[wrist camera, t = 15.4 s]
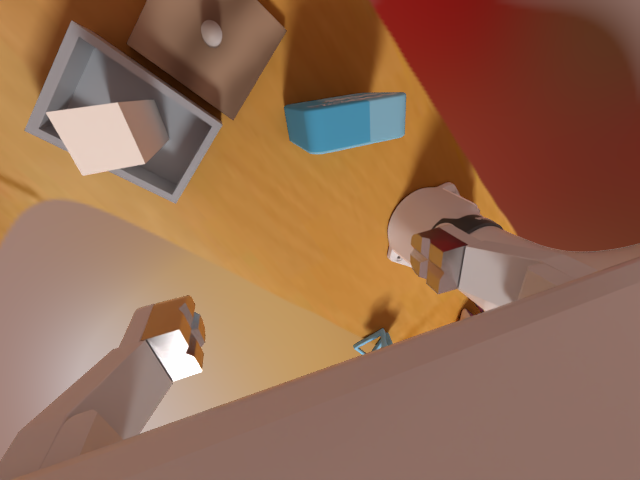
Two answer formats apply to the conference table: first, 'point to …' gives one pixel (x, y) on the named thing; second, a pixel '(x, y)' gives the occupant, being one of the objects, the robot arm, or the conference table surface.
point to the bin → (122, 86)
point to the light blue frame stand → (382, 342)
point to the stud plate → (200, 62)
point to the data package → (346, 121)
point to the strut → (111, 134)
